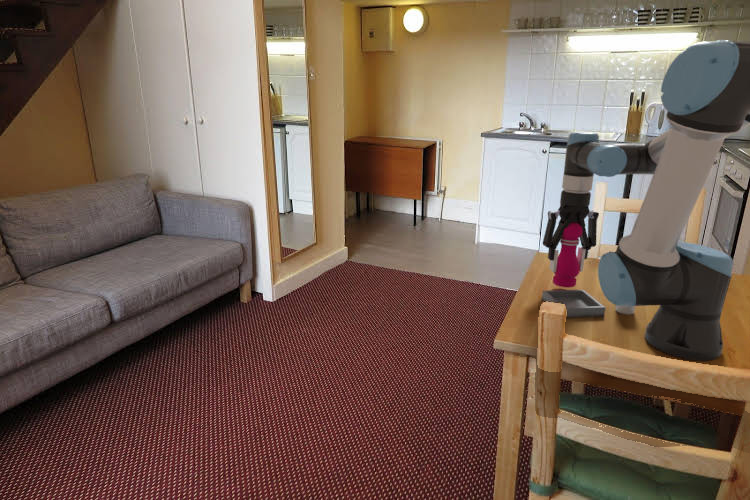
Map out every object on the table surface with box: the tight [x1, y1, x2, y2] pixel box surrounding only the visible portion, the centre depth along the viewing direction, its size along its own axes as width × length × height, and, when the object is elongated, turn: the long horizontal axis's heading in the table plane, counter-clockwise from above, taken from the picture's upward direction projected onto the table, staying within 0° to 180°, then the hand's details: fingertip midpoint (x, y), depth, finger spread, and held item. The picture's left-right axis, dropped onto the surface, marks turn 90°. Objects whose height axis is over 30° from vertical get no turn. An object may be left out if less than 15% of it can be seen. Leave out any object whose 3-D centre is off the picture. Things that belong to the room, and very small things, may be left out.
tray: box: [541, 289, 606, 318], centre depth 132 cm, size 12×12×2 cm
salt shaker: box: [615, 305, 636, 315], centre depth 129 cm, size 4×4×10 cm
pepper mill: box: [552, 223, 583, 288], centre depth 140 cm, size 7×7×20 cm
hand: (565, 270), depth 141 cm, fingers closed on pepper mill, 7 cm apart
